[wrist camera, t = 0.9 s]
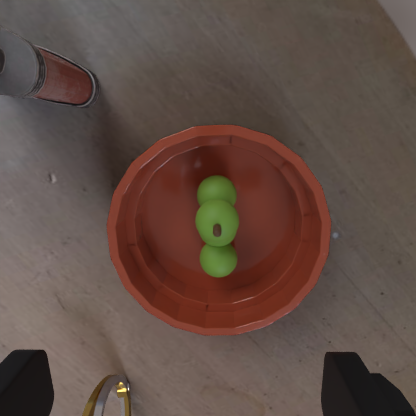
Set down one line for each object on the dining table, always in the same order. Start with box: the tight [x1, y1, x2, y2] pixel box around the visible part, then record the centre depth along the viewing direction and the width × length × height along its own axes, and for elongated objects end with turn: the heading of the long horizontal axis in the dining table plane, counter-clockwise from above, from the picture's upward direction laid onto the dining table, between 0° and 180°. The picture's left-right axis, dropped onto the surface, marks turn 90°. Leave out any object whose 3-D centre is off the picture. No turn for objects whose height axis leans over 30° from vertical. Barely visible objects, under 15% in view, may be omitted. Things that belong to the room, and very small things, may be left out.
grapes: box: [195, 175, 239, 277], centre depth 20 cm, size 8×3×6 cm, turn 2°
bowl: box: [107, 125, 331, 335], centre depth 21 cm, size 14×14×4 cm
